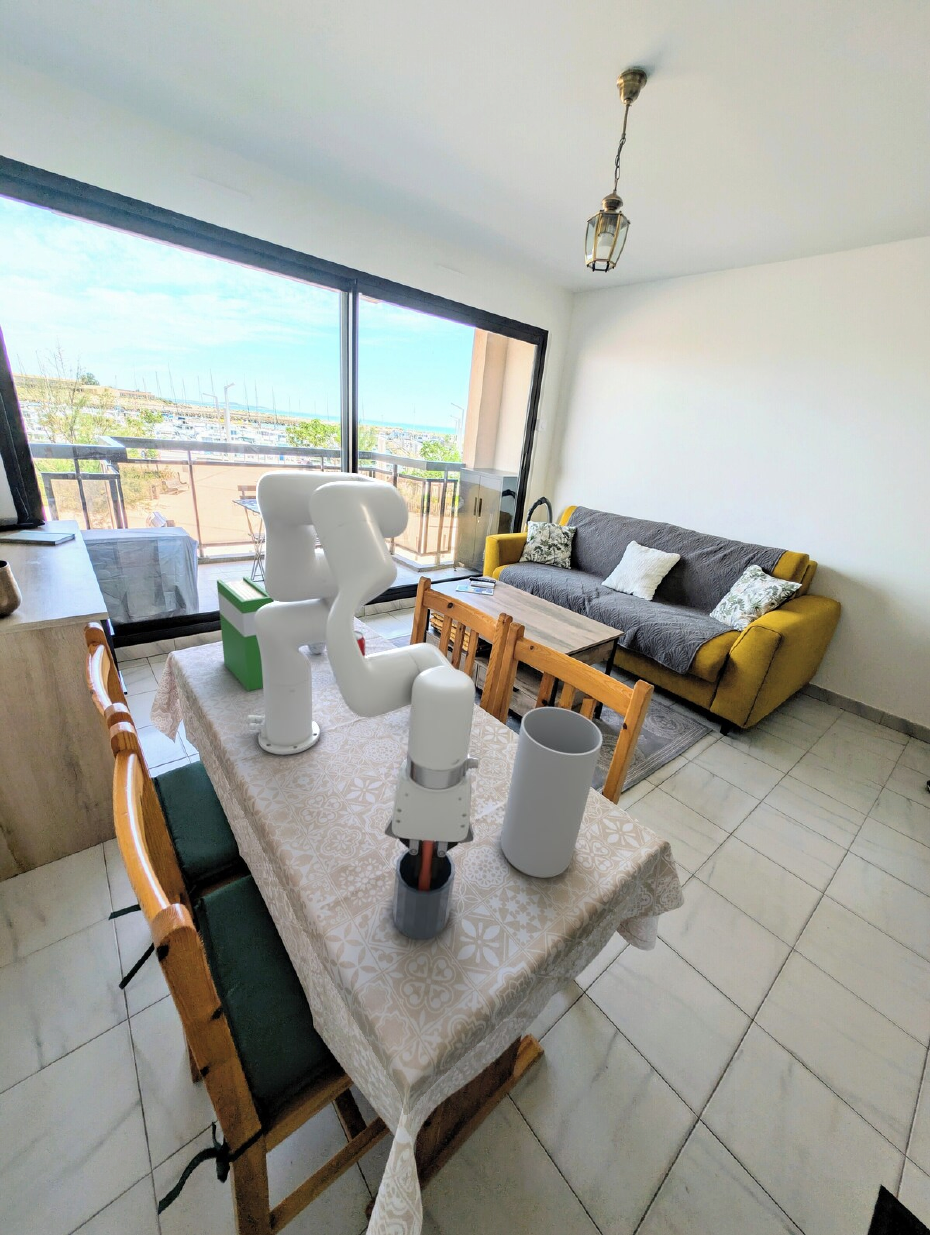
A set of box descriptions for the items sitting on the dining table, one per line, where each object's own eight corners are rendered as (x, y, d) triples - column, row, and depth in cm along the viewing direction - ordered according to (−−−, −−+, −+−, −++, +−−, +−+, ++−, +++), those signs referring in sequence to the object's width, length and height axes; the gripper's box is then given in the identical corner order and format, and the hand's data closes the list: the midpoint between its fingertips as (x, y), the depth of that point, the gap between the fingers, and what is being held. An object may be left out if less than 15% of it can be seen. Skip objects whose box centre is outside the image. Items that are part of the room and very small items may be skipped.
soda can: (352, 665, 136) (353, 627, 131) (369, 674, 132) (371, 635, 128) (333, 673, 130) (333, 634, 126) (350, 683, 127) (351, 642, 122)
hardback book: (224, 662, 129) (216, 580, 121) (252, 656, 134) (246, 576, 125) (248, 691, 118) (241, 601, 109) (277, 683, 123) (273, 597, 114)
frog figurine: (311, 646, 144) (311, 625, 142) (331, 650, 143) (331, 629, 140) (300, 654, 139) (299, 632, 136) (321, 659, 137) (321, 637, 135)
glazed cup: (389, 938, 65) (392, 892, 62) (396, 884, 73) (400, 841, 70) (447, 941, 66) (454, 896, 62) (449, 888, 73) (455, 845, 70)
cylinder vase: (517, 810, 90) (539, 698, 81) (580, 842, 85) (611, 725, 75) (487, 855, 80) (508, 732, 71) (556, 894, 74) (589, 767, 65)
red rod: (416, 906, 67) (422, 843, 63) (417, 895, 69) (423, 834, 65) (427, 906, 68) (434, 844, 63) (428, 896, 69) (435, 834, 65)
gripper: (496, 749, 63) (480, 850, 70) (378, 739, 62) (374, 843, 69) (500, 788, 56) (482, 897, 63) (368, 778, 55) (364, 889, 62)
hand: (425, 868), depth 66 cm, fingers closed on red rod, 1 cm apart
